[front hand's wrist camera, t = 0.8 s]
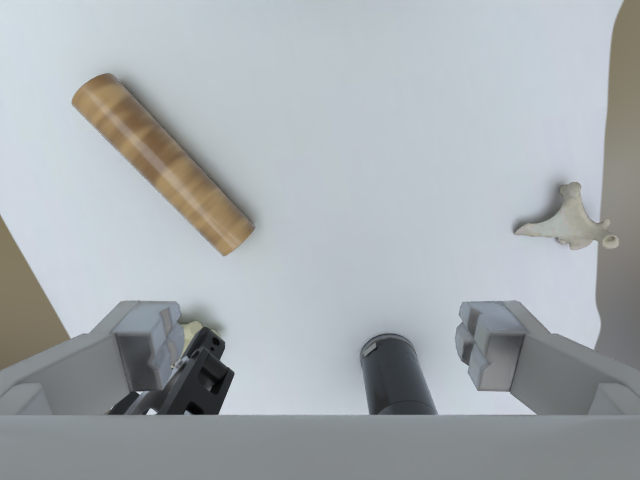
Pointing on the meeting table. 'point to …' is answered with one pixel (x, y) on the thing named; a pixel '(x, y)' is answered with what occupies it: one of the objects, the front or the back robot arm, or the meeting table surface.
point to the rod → (162, 161)
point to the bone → (572, 224)
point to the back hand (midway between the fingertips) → (174, 368)
